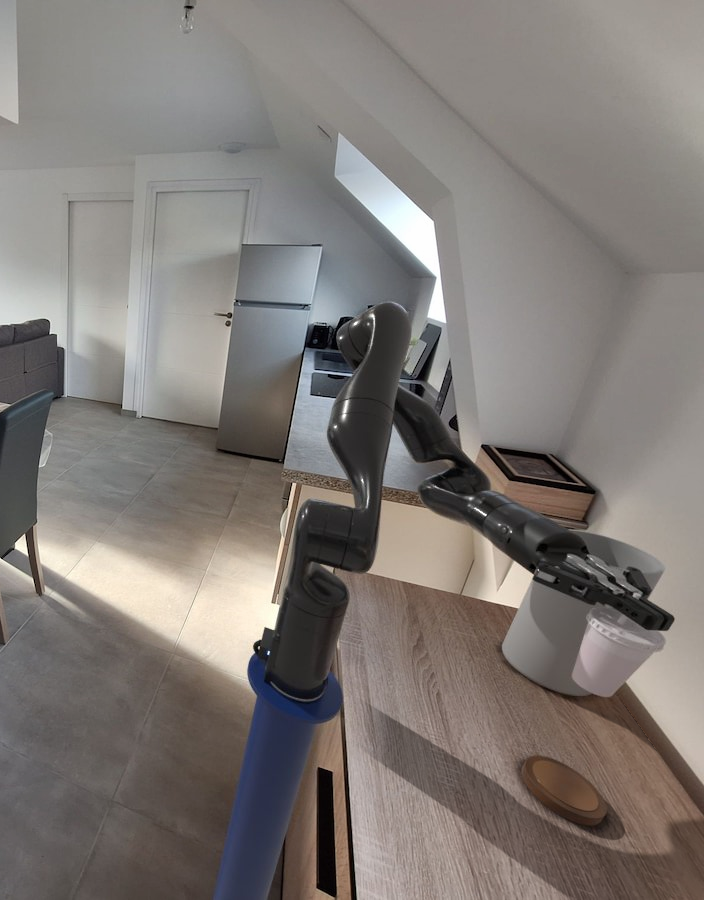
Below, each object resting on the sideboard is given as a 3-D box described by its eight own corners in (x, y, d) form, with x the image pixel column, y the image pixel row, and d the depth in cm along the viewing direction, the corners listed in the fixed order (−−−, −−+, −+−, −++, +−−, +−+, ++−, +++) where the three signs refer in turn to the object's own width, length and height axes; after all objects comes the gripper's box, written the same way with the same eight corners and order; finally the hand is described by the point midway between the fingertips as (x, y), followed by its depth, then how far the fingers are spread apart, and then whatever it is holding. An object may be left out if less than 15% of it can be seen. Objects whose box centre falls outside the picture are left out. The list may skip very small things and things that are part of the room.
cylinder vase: (492, 633, 89) (541, 522, 80) (576, 658, 84) (639, 542, 75) (511, 679, 78) (569, 557, 69) (608, 711, 73) (685, 583, 64)
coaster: (531, 805, 59) (536, 797, 59) (513, 752, 66) (517, 745, 65) (614, 838, 56) (620, 830, 55) (586, 779, 63) (591, 772, 62)
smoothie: (550, 657, 62) (595, 572, 56) (613, 676, 59) (667, 589, 54) (568, 693, 56) (620, 603, 51) (639, 715, 54) (701, 623, 48)
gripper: (566, 562, 68) (706, 653, 51) (475, 558, 68) (587, 647, 52) (587, 518, 65) (743, 600, 49) (493, 514, 65) (616, 594, 49)
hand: (662, 624), depth 50 cm, fingers closed on smoothie, 1 cm apart
